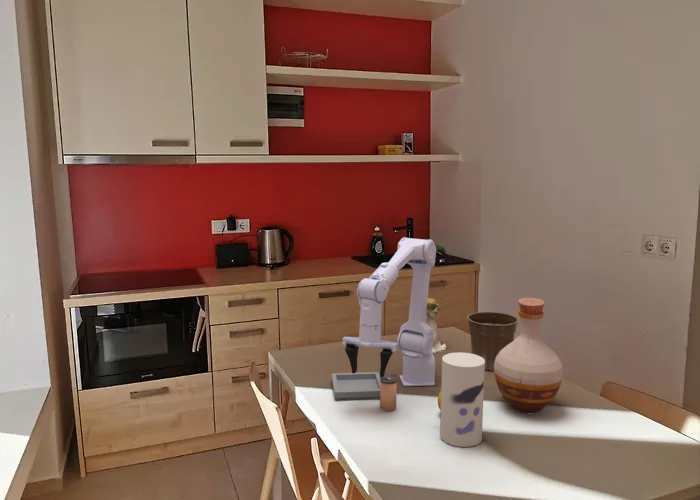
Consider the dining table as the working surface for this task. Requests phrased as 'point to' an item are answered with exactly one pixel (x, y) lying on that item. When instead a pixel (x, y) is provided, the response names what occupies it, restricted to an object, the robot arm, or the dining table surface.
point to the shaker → (388, 392)
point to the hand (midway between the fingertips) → (368, 374)
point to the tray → (356, 386)
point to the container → (462, 399)
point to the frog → (433, 323)
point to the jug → (528, 364)
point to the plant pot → (491, 334)
